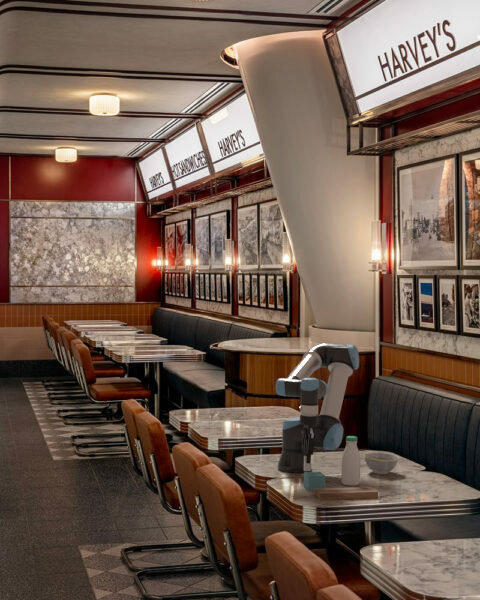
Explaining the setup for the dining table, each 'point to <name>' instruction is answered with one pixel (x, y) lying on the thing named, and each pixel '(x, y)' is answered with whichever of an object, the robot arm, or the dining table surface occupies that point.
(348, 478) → the milk bottle
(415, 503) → the dining table surface
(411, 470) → the dining table surface
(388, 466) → the bowl
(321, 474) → the block
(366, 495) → the board
